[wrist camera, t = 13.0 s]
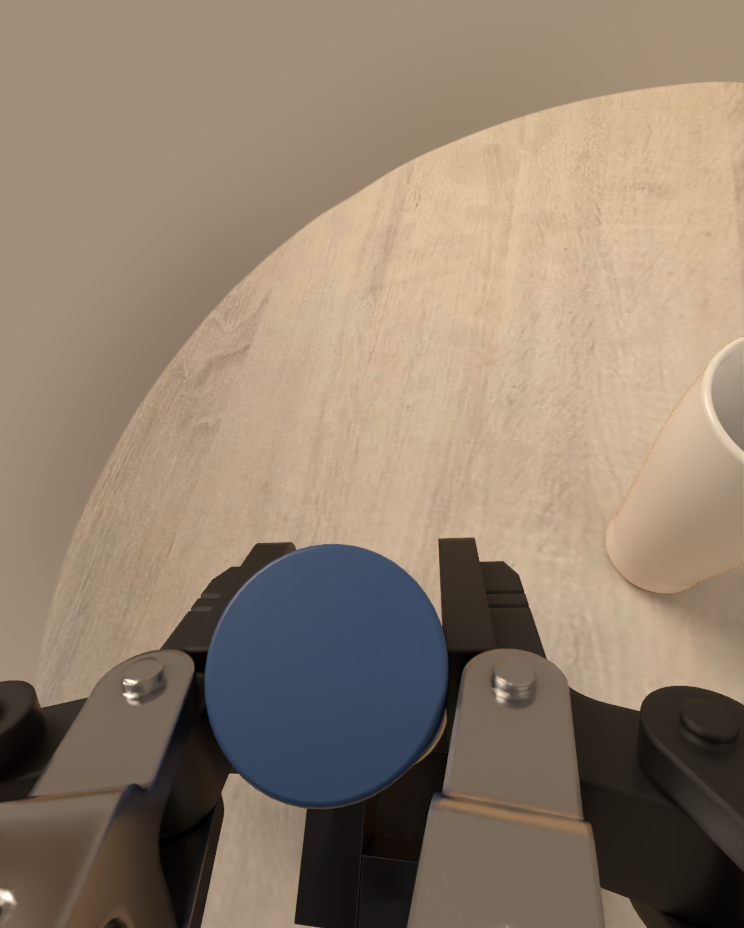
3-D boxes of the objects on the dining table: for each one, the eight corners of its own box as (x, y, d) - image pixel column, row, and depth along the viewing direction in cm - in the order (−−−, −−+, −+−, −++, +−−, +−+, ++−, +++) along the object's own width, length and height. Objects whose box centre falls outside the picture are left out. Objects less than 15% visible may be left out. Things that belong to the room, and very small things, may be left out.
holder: (318, 893, 25) (293, 924, 21) (337, 688, 29) (320, 681, 25) (512, 919, 23) (526, 957, 19) (504, 701, 27) (514, 695, 23)
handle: (308, 716, 14) (146, 695, 6) (375, 617, 15) (304, 497, 7) (404, 798, 13) (347, 889, 5) (471, 686, 14) (502, 627, 6)
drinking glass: (582, 496, 32) (680, 327, 19) (700, 495, 31) (891, 318, 18) (598, 608, 29) (730, 503, 16) (731, 610, 28) (990, 501, 15)
